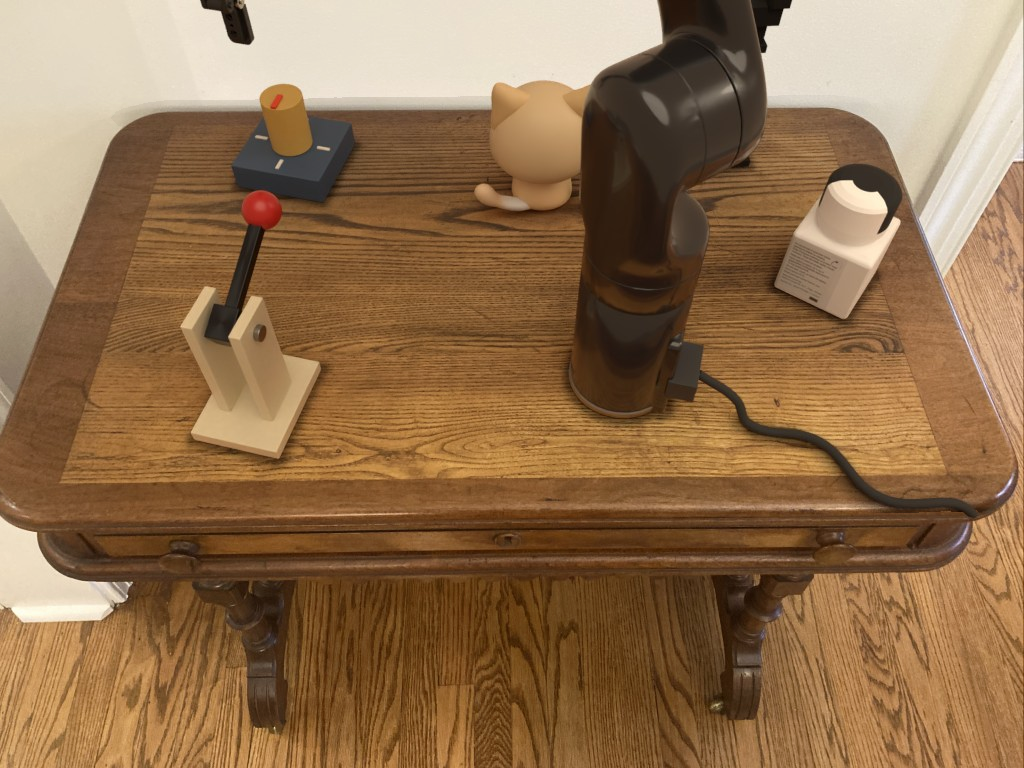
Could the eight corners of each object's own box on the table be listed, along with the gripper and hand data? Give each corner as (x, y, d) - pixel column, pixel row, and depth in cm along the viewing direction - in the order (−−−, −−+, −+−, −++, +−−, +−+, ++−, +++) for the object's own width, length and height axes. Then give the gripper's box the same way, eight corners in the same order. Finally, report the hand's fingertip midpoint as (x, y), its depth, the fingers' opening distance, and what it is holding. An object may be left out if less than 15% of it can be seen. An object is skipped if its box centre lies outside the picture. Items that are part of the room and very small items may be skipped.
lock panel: (355, 144, 98) (351, 121, 95) (323, 203, 92) (318, 180, 90) (274, 130, 99) (267, 107, 97) (237, 187, 94) (230, 164, 91)
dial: (280, 127, 95) (267, 78, 90) (318, 133, 94) (307, 84, 89) (265, 153, 92) (251, 104, 87) (304, 159, 92) (292, 110, 87)
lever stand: (241, 352, 81) (203, 257, 70) (321, 369, 79) (294, 275, 69) (194, 439, 75) (144, 350, 64) (279, 459, 74) (242, 372, 63)
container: (803, 242, 90) (844, 142, 79) (874, 274, 87) (925, 175, 76) (771, 287, 86) (809, 188, 75) (844, 322, 83) (894, 224, 73)
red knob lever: (256, 196, 72) (241, 180, 69) (292, 203, 72) (278, 187, 68) (213, 343, 70) (195, 334, 67) (249, 351, 69) (233, 342, 66)
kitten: (611, 166, 96) (626, 47, 84) (616, 230, 90) (634, 111, 78) (478, 165, 96) (474, 45, 84) (475, 228, 90) (470, 109, 78)
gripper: (218, -127, 63) (267, 67, 77) (292, -204, 72) (325, -17, 85) (126, -139, 64) (190, 54, 78) (209, -214, 73) (255, -27, 86)
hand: (261, 17), depth 81 cm, fingers open, 7 cm apart
